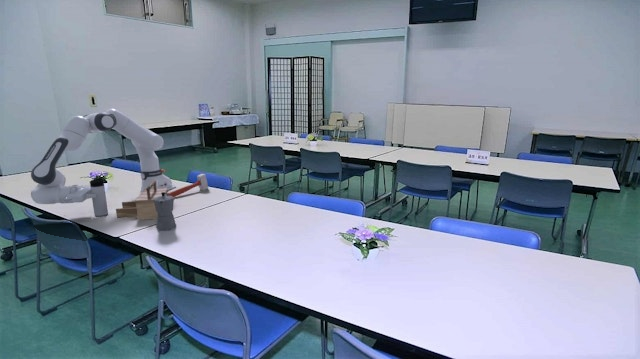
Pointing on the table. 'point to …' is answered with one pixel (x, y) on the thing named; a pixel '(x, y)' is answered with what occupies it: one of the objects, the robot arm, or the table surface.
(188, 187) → the mallet
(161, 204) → the coffeepot
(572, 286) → the table surface
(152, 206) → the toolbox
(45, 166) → the robot arm
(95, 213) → the travel mug
